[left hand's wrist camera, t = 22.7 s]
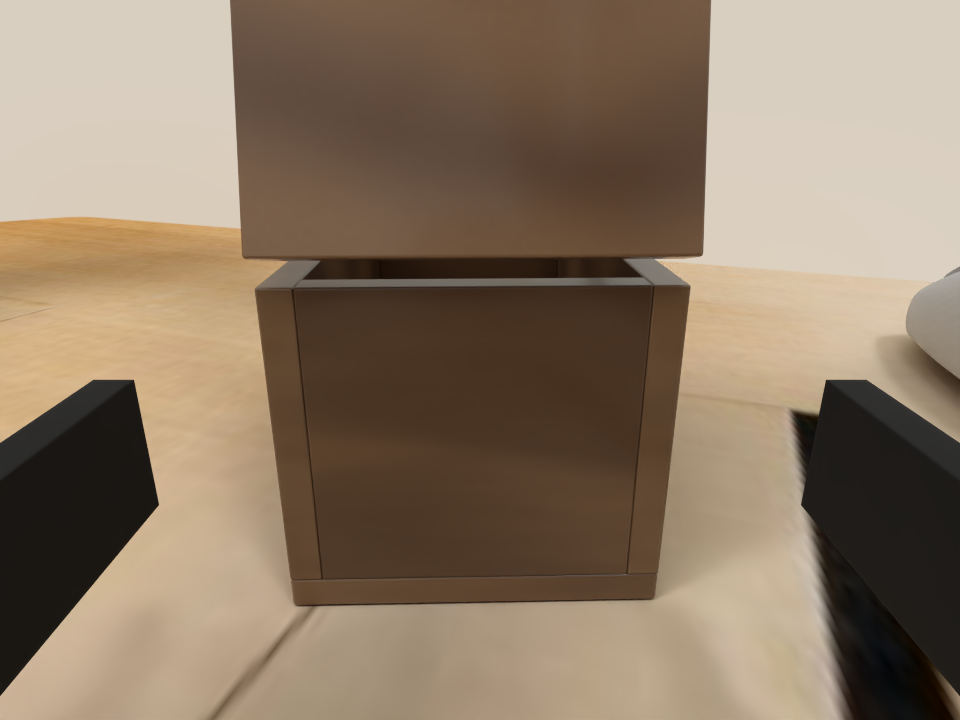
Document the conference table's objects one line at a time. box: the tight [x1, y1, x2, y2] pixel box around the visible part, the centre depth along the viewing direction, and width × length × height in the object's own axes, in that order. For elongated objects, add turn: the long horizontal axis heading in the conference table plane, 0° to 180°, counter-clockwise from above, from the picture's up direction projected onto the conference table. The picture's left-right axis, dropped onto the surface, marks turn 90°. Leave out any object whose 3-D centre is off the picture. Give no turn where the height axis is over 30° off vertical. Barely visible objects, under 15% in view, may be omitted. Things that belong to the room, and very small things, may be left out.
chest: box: [255, 259, 690, 605], centre depth 24 cm, size 16×10×9 cm, turn 2°
